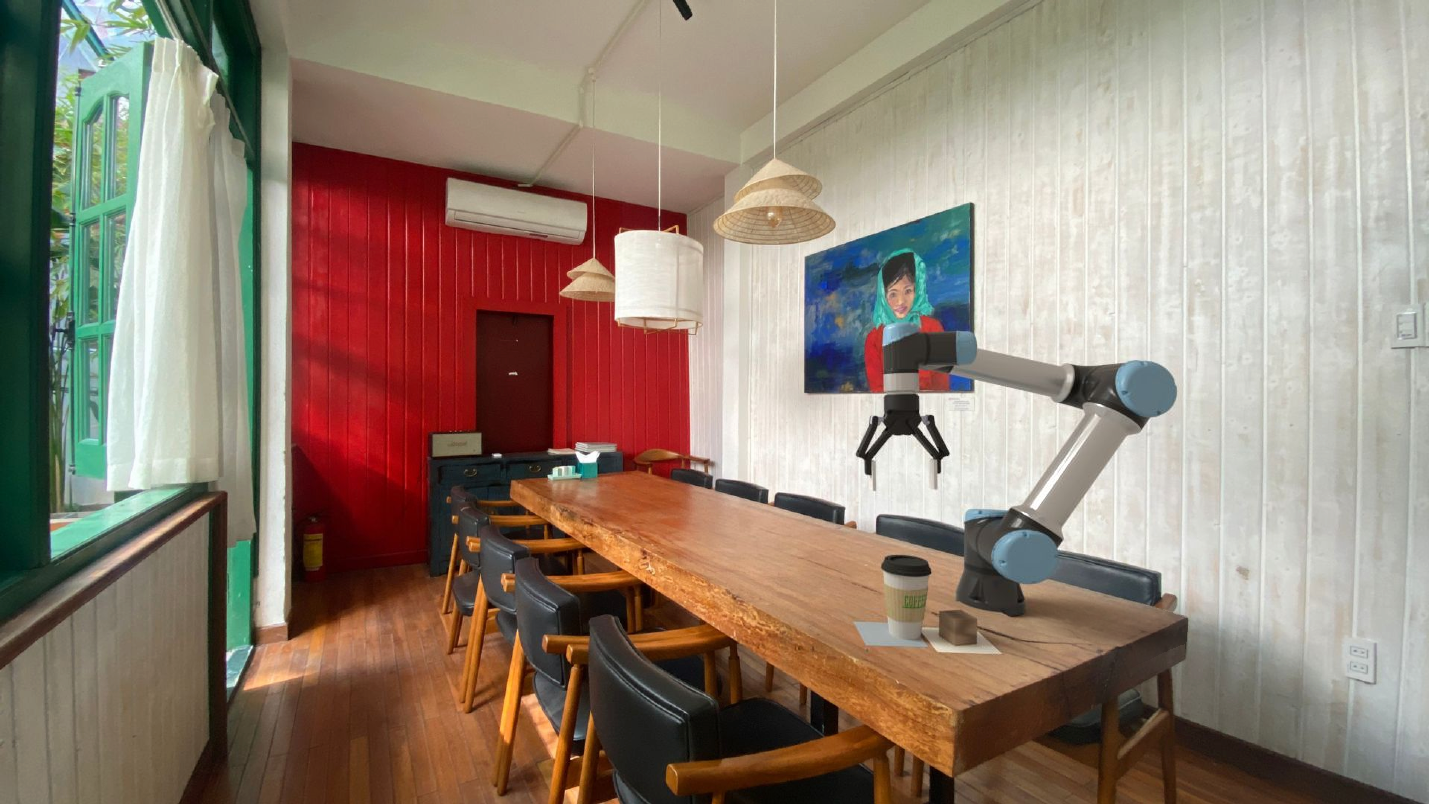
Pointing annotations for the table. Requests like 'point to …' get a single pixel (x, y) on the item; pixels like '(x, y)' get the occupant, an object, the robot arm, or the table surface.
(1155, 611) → the table surface
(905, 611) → the coffee cup
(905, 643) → the pad
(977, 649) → the pad
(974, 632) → the walnut block
